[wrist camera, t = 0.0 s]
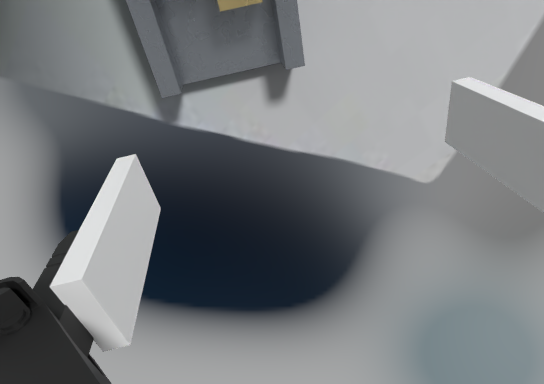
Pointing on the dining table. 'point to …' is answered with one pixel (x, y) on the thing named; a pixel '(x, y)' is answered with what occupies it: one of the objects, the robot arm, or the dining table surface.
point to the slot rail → (214, 38)
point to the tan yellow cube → (235, 3)
